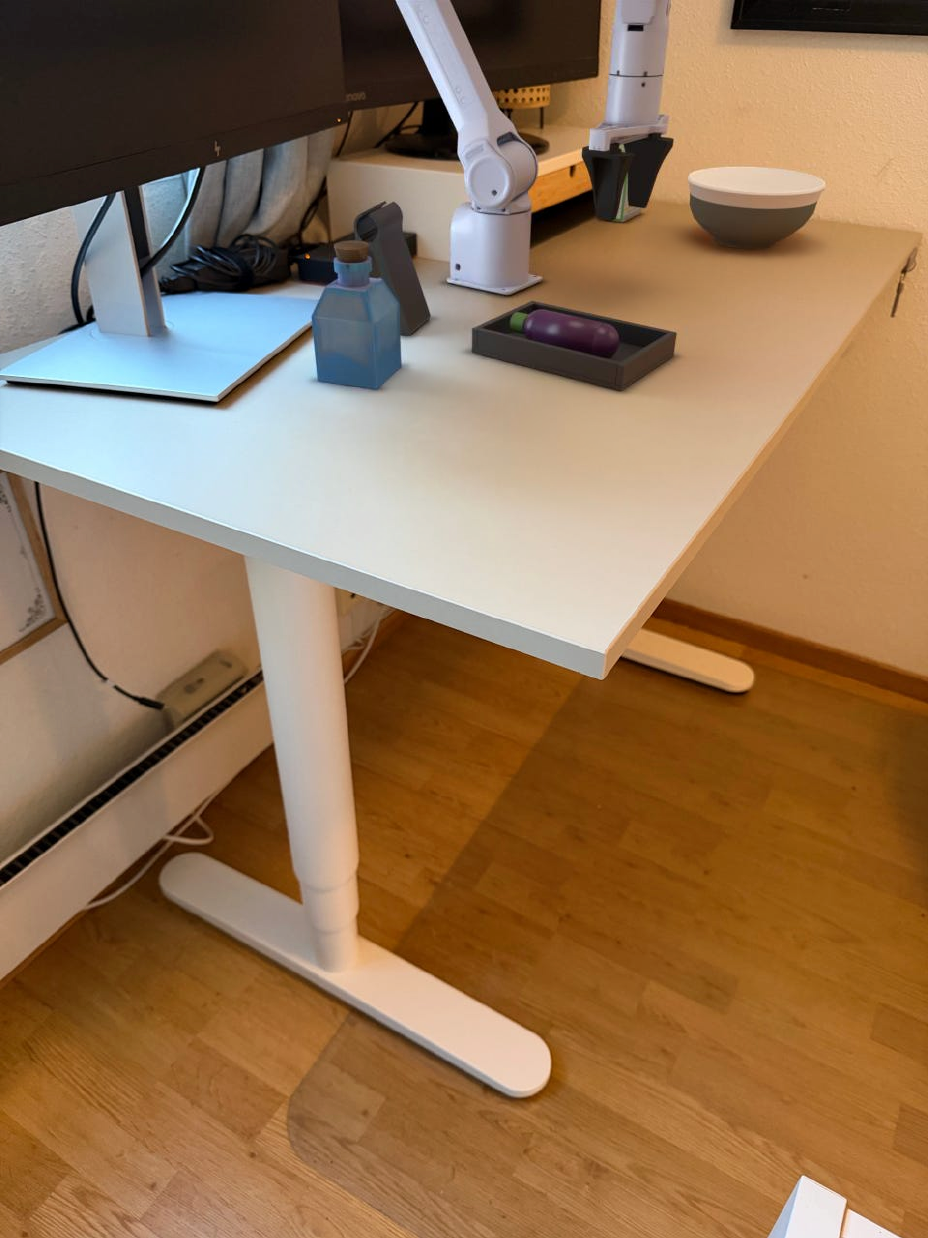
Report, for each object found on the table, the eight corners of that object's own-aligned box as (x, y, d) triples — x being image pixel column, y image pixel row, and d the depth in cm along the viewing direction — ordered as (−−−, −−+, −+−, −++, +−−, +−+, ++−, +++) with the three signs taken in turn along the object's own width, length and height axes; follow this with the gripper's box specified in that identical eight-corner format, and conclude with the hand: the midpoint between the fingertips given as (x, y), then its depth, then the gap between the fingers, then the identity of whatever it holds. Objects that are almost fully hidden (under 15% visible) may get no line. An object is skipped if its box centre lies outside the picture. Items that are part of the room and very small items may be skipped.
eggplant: (510, 346, 94) (502, 321, 91) (527, 322, 95) (519, 296, 92) (611, 371, 89) (605, 345, 86) (628, 345, 90) (623, 318, 87)
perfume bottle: (401, 366, 89) (396, 239, 82) (376, 389, 84) (369, 256, 77) (345, 358, 91) (335, 233, 84) (317, 380, 86) (304, 250, 79)
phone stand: (431, 319, 101) (429, 204, 94) (410, 335, 96) (406, 216, 89) (359, 310, 103) (351, 197, 96) (335, 326, 99) (325, 209, 92)
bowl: (830, 258, 121) (845, 192, 116) (692, 257, 122) (702, 191, 117) (791, 225, 136) (803, 166, 132) (669, 224, 137) (676, 165, 132)
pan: (471, 352, 92) (471, 328, 91) (530, 323, 100) (531, 300, 98) (621, 391, 84) (623, 365, 83) (673, 356, 92) (677, 332, 90)
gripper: (638, 82, 88) (623, 230, 96) (700, 70, 97) (681, 205, 105) (576, 78, 91) (566, 220, 99) (641, 66, 100) (628, 197, 108)
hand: (622, 212), depth 102 cm, fingers open, 7 cm apart
